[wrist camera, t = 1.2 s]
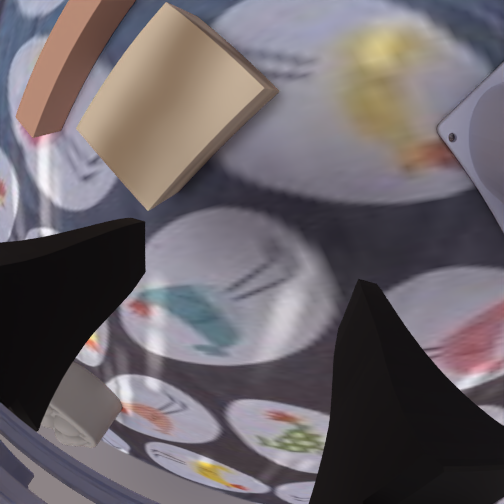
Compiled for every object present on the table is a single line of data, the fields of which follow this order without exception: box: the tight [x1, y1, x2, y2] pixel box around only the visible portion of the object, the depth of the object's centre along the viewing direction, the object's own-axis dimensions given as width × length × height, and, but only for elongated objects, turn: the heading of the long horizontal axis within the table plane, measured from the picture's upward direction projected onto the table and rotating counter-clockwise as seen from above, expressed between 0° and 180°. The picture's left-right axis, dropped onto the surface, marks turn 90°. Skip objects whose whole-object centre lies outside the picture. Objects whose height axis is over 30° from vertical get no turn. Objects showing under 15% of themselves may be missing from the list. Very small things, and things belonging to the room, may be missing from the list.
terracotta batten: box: [16, 0, 136, 138], centre depth 14 cm, size 3×20×3 cm, turn 139°
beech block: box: [76, 2, 280, 211], centre depth 16 cm, size 7×9×4 cm
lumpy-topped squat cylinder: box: [41, 362, 122, 448], centre depth 33 cm, size 10×13×9 cm
